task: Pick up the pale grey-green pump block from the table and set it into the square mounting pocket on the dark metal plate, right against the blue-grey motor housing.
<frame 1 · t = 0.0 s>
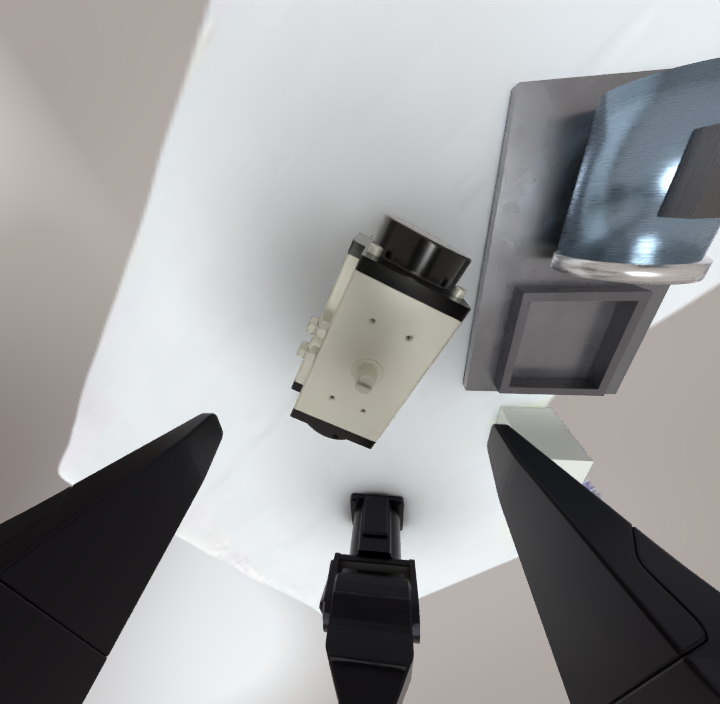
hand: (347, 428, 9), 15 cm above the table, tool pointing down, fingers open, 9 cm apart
motor mount: (549, 333, 22), on the table
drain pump: (519, 426, 27), on the table
pneumatic valve: (373, 294, 22), on the table
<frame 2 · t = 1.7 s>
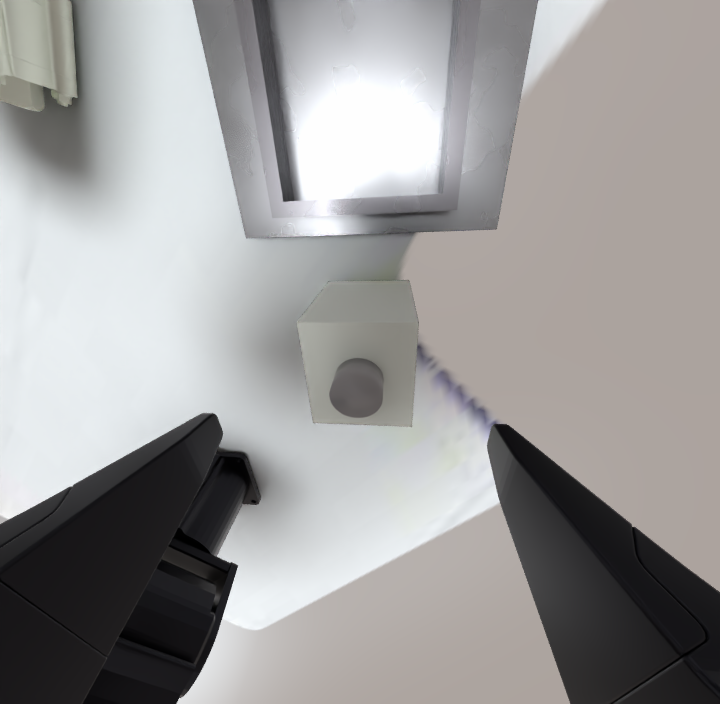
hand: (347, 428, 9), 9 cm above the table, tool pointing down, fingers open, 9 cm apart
motor mount: (363, 103, 12), on the table
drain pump: (369, 322, 16), on the table
pneumatic valve: (34, 31, 12), on the table
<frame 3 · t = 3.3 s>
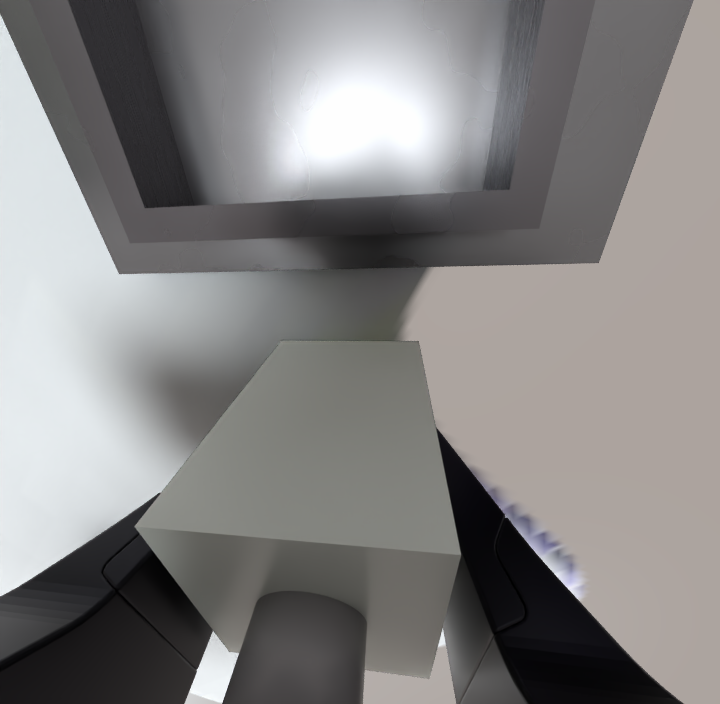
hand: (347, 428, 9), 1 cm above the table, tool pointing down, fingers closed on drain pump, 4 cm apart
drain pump: (352, 401, 10), on the table, touching gripper
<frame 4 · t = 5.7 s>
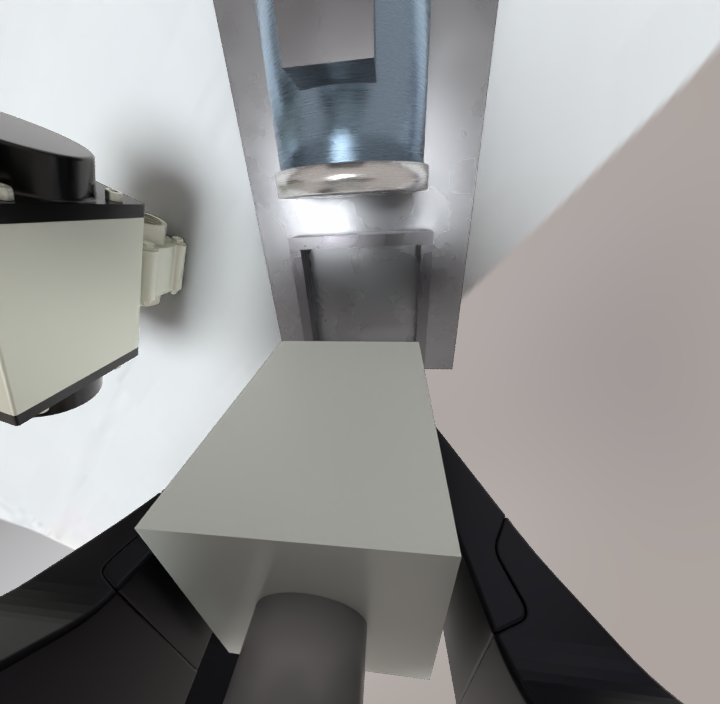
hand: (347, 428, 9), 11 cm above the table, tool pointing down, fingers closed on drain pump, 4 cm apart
motor mount: (365, 297, 18), on the table
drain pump: (352, 402, 10), point 10 cm above the table, touching gripper
pneumatic valve: (158, 252, 19), on the table
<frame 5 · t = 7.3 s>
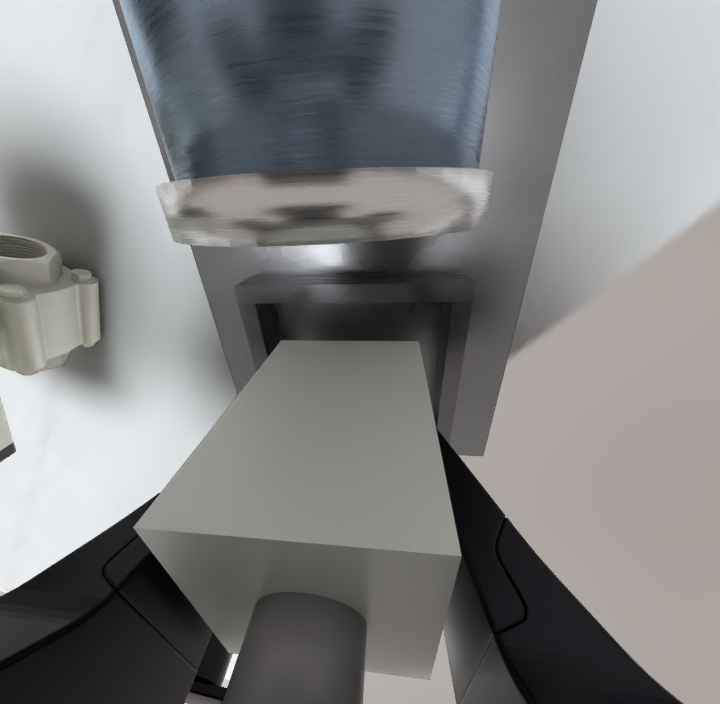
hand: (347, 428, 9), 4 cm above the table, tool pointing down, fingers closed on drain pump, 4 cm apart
motor mount: (361, 357, 13), on the table
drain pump: (352, 401, 10), point 3 cm above the table, touching gripper
pneumatic valve: (62, 289, 13), on the table
when the fingers open (4 cm above the table, at t = 8.3 s): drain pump drops 1 cm, resting on motor mount.
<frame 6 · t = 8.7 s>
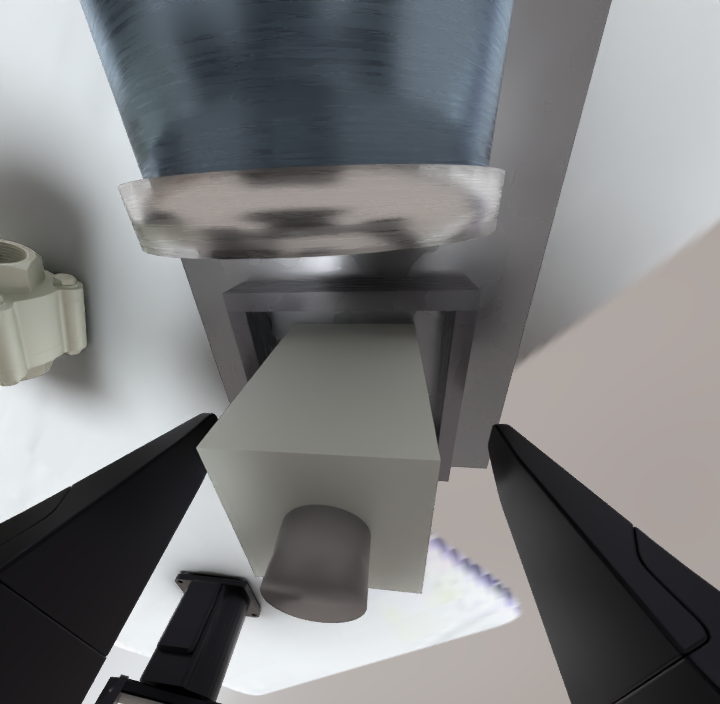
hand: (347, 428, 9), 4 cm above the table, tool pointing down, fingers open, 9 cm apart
motor mount: (359, 366, 12), on the table
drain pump: (356, 379, 11), point 1 cm above the table, touching motor mount
pneumatic valve: (46, 294, 12), on the table
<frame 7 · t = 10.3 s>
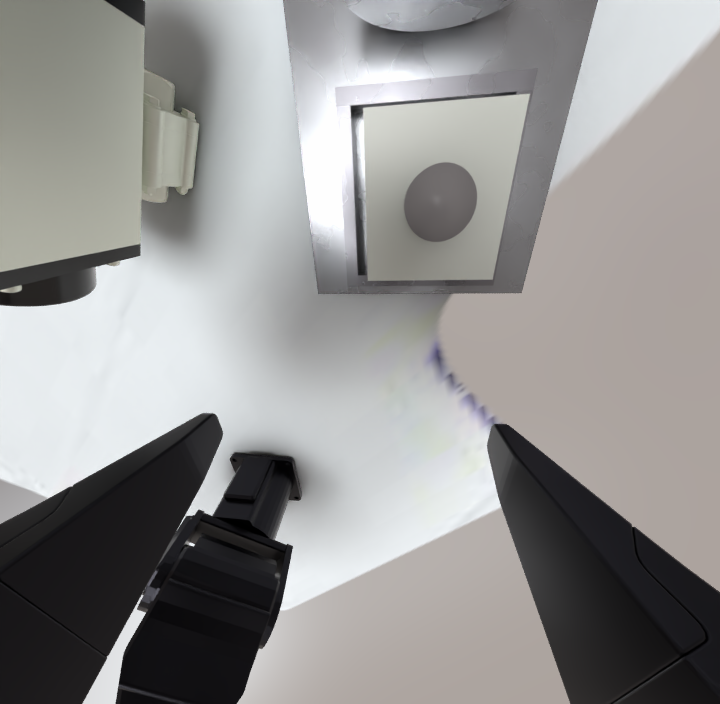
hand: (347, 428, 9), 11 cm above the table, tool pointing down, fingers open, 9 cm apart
motor mount: (419, 197, 15), on the table
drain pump: (420, 199, 14), point 1 cm above the table, touching motor mount
pneumatic valve: (163, 139, 15), on the table
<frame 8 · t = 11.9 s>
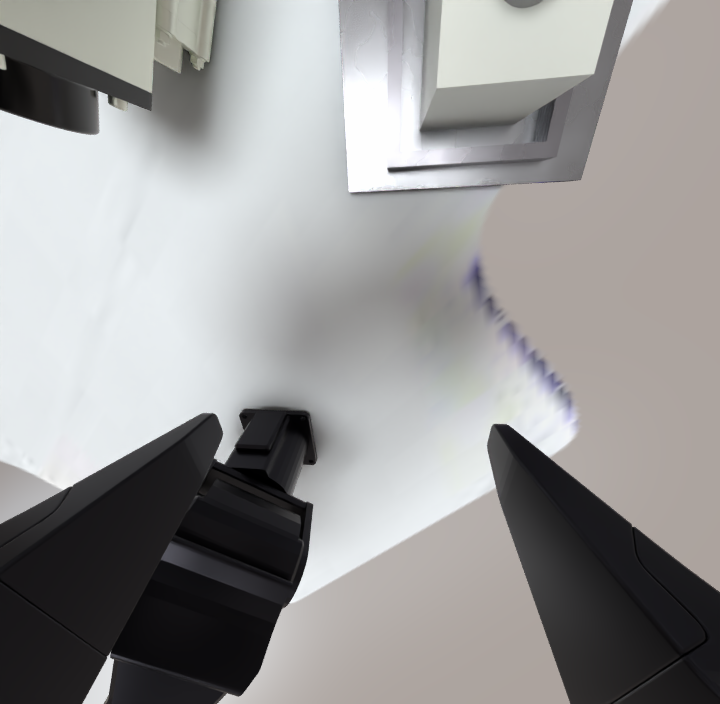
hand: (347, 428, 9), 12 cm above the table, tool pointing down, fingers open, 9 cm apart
motor mount: (468, 65, 13), on the table
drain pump: (473, 57, 12), point 1 cm above the table, touching motor mount
pneumatic valve: (177, 2, 13), on the table
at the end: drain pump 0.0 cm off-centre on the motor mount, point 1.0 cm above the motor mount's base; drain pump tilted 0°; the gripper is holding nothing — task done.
